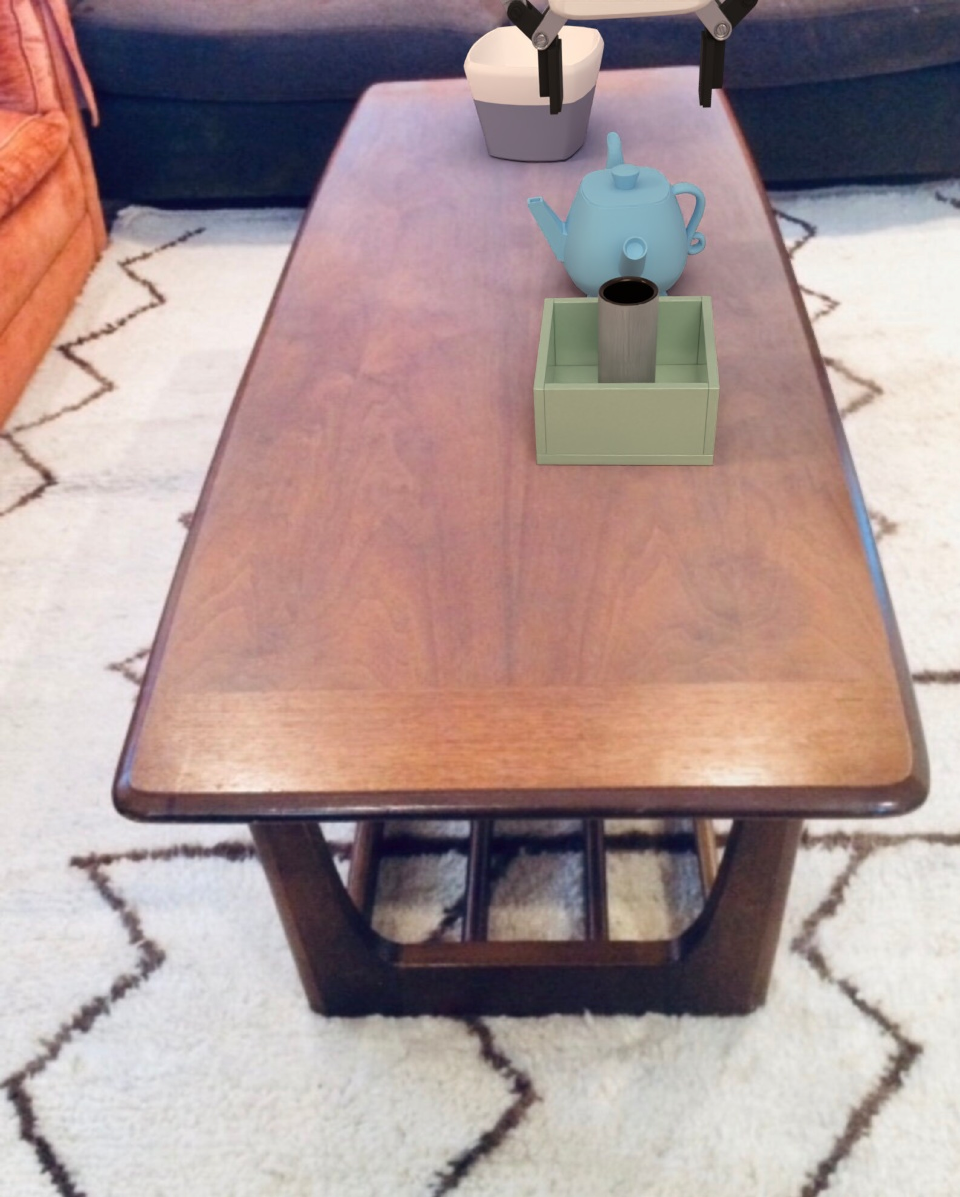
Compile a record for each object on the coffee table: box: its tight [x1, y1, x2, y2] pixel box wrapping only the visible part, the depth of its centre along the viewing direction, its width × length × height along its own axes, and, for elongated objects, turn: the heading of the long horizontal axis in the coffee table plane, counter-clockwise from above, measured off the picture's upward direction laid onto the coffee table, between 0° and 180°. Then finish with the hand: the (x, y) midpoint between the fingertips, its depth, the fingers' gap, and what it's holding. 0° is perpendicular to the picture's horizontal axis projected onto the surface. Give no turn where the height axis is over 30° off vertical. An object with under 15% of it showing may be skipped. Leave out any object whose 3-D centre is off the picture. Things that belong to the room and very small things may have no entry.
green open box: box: [532, 295, 721, 466], centre depth 88 cm, size 14×14×7 cm
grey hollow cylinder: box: [598, 276, 659, 383], centre depth 86 cm, size 4×4×10 cm
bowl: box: [463, 25, 605, 162], centre depth 128 cm, size 15×15×11 cm
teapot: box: [526, 131, 707, 298], centre depth 102 cm, size 15×14×11 cm
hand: (630, 103), depth 72 cm, fingers open, 9 cm apart
